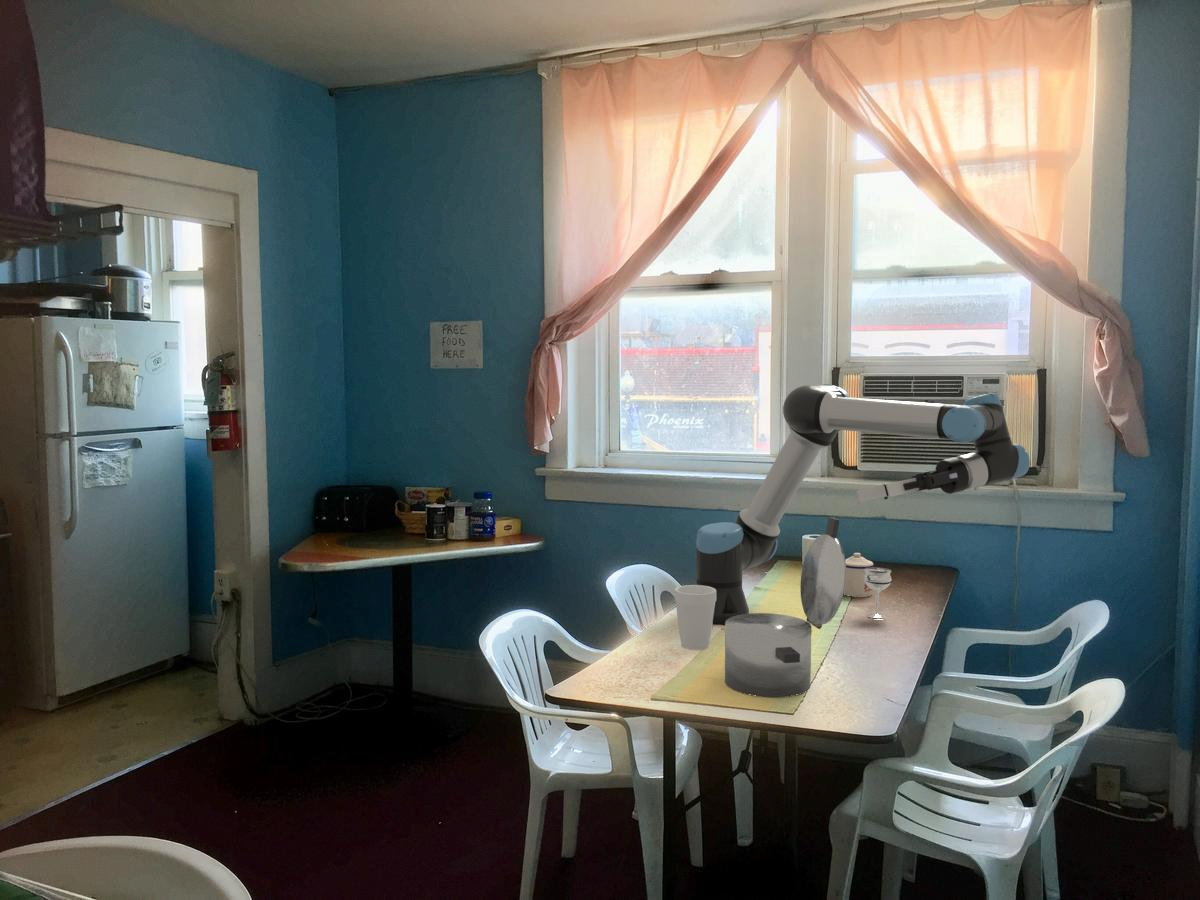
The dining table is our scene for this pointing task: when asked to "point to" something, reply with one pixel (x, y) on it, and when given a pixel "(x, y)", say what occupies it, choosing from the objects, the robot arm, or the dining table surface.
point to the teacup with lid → (857, 576)
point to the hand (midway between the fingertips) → (872, 493)
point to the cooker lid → (823, 577)
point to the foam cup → (695, 615)
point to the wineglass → (877, 583)
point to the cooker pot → (767, 654)
